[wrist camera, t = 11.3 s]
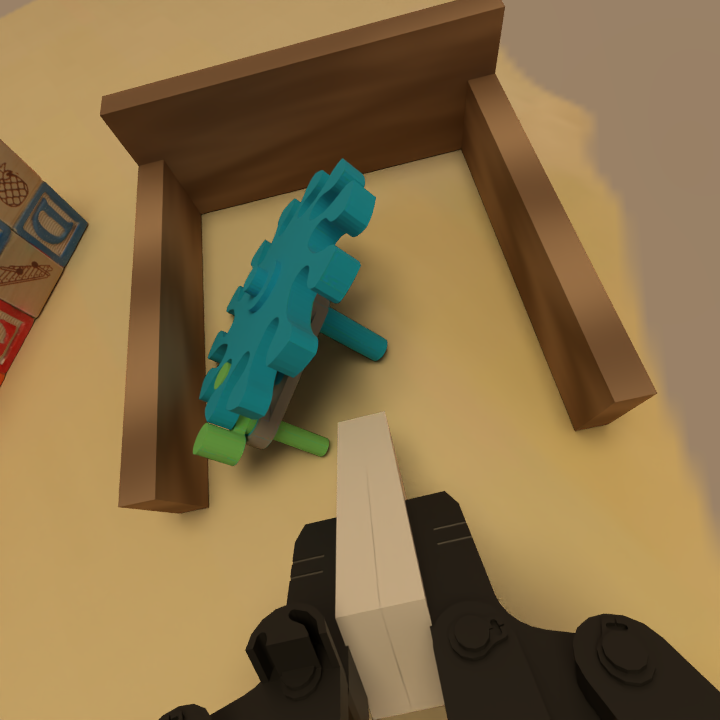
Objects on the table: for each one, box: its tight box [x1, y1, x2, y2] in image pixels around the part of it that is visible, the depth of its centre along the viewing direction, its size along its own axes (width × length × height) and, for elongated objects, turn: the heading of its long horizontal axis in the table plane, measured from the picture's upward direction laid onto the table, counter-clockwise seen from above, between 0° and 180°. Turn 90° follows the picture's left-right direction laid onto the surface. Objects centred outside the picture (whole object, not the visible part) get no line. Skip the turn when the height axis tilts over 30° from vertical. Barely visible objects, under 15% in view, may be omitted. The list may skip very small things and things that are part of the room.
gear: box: [193, 158, 387, 466], centre depth 16 cm, size 11×6×10 cm
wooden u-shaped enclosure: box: [100, 0, 657, 513], centre depth 16 cm, size 16×16×6 cm
